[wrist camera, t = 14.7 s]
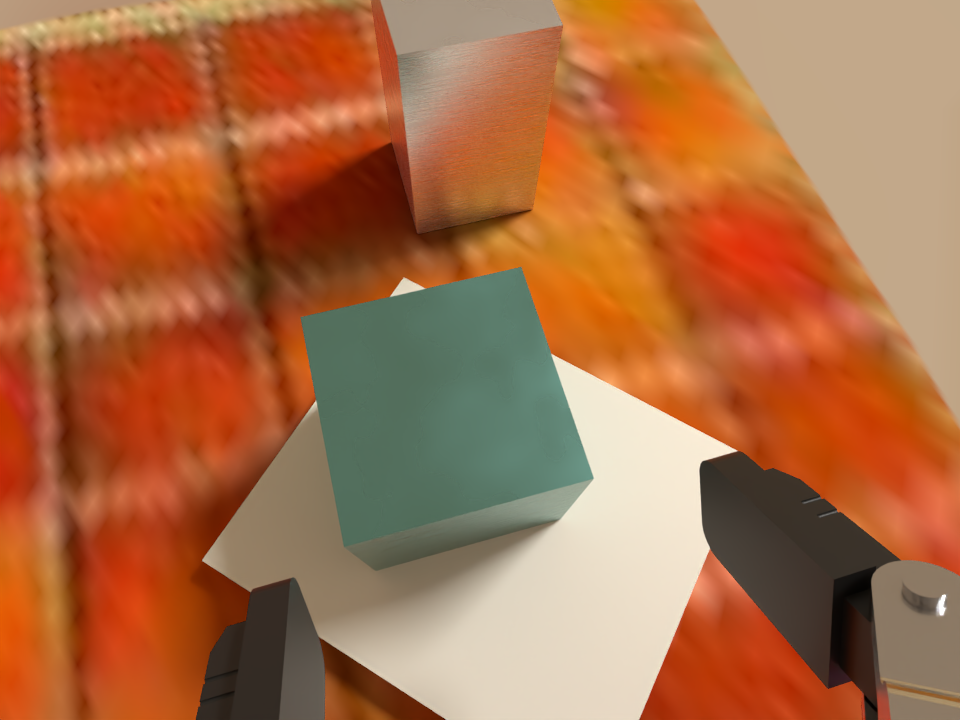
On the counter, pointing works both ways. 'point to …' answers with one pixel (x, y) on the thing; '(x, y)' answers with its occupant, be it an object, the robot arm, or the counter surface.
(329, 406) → the sage green cube
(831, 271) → the counter surface
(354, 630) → the cream board
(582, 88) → the counter surface
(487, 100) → the grey tall block
